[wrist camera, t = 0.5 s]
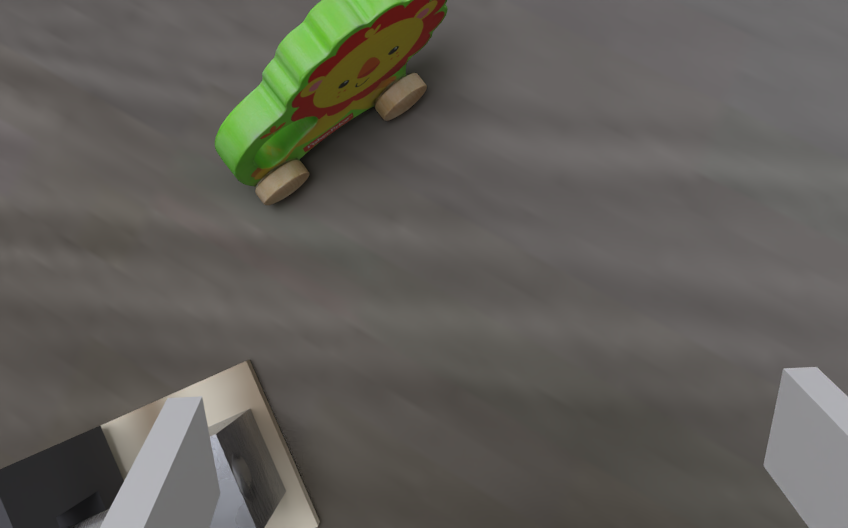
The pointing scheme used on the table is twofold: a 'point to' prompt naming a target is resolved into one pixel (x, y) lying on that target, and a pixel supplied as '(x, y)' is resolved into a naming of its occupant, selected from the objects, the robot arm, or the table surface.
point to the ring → (60, 484)
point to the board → (221, 401)
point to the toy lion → (325, 86)
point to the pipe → (236, 476)
